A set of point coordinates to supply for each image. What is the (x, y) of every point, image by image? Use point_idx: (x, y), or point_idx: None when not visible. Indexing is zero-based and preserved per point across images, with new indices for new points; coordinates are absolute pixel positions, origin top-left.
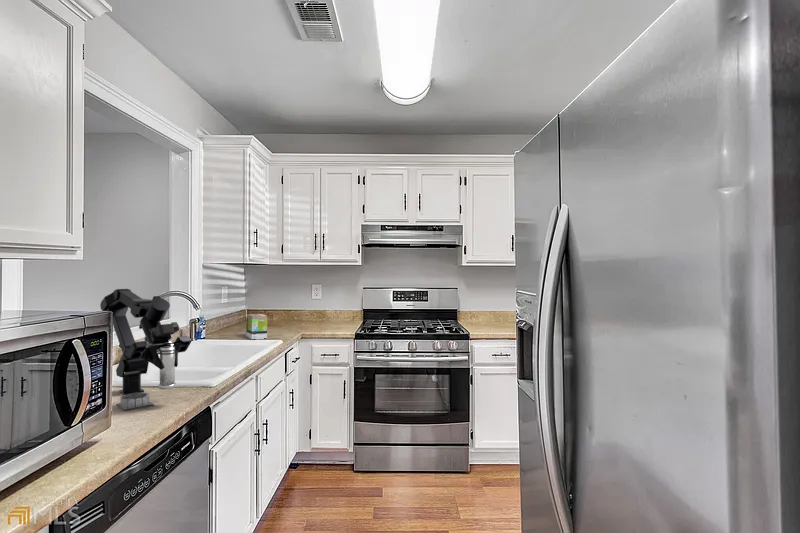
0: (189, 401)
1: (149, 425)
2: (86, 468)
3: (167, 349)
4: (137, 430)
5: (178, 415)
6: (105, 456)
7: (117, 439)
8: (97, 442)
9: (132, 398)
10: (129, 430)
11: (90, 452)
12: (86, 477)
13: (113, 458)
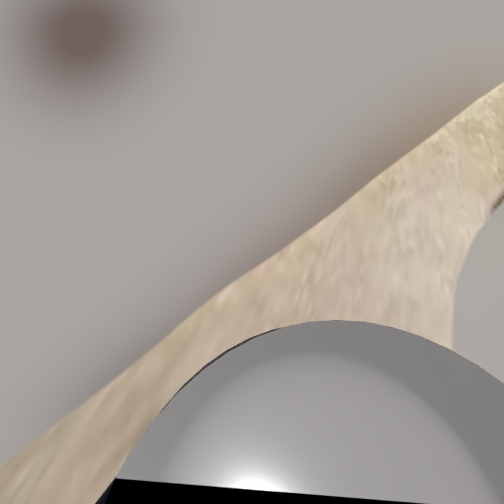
0: (160, 393)
1: (374, 228)
2: (496, 116)
3: (413, 343)
4: (407, 214)
5: (282, 250)
6: (471, 135)
7: (453, 192)
8: (494, 204)
9: None
10: (424, 228)
11: (500, 166)
12: (491, 95)
13: (458, 121)
